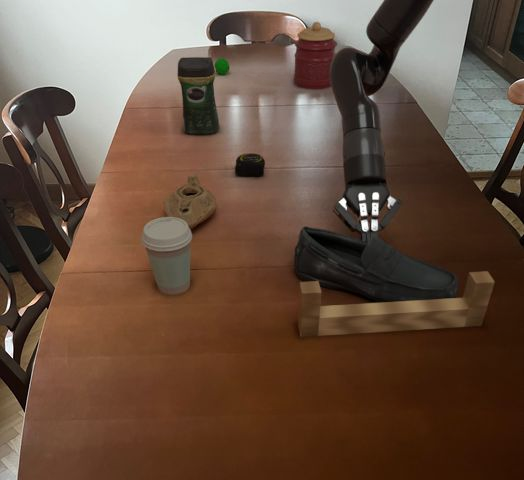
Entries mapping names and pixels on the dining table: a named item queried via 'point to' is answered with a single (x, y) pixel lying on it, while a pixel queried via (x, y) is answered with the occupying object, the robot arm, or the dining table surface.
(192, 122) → the coffee jar
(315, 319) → the wooden u-shaped bracket
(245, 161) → the tape measure
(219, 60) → the polyhedron
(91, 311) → the dining table surface
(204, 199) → the oil lamp
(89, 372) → the dining table surface
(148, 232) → the coffee cup
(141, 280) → the dining table surface
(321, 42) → the kitchen canister
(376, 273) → the loafer
